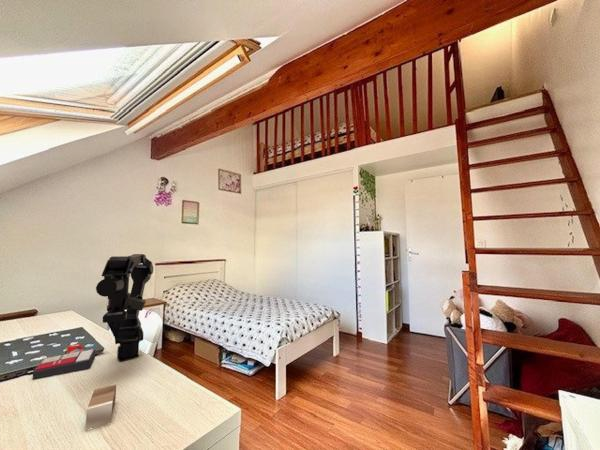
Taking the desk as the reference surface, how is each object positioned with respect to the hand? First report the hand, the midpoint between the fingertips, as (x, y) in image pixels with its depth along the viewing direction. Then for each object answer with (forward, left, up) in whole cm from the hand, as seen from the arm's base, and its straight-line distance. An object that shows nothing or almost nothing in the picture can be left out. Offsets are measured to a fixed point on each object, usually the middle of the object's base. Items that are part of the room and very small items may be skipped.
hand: (115, 336), depth 89 cm
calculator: (+13, -17, -14) cm, 25 cm away
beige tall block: (+4, +19, -11) cm, 22 cm away
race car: (+11, -29, -14) cm, 34 cm away
